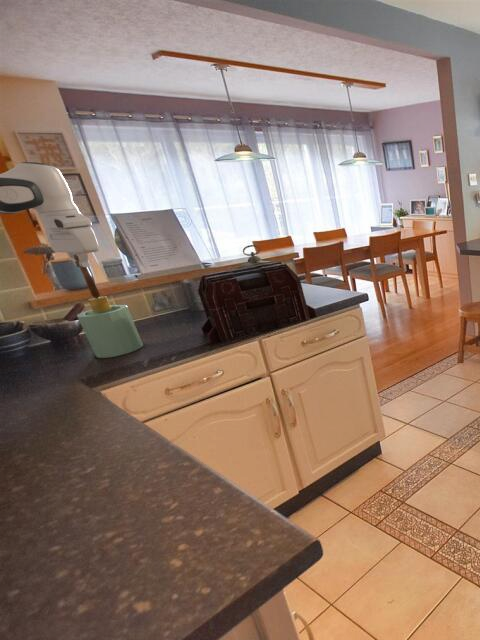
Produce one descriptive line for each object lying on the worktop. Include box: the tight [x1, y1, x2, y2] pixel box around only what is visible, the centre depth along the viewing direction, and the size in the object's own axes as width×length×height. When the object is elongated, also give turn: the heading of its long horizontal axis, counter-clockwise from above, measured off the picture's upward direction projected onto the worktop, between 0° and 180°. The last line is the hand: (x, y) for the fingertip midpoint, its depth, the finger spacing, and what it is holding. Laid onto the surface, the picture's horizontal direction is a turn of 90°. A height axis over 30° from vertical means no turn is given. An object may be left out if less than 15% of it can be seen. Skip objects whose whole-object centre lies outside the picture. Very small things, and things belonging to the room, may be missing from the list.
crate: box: [197, 261, 317, 344], centre depth 157 cm, size 35×19×21 cm, turn 133°
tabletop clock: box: [236, 244, 274, 270], centre depth 185 cm, size 14×9×25 cm, turn 147°
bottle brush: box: [74, 254, 112, 312], centre depth 136 cm, size 4×4×18 cm
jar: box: [76, 304, 144, 359], centre depth 142 cm, size 12×12×14 cm
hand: (83, 266), depth 134 cm, fingers closed on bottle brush, 2 cm apart
